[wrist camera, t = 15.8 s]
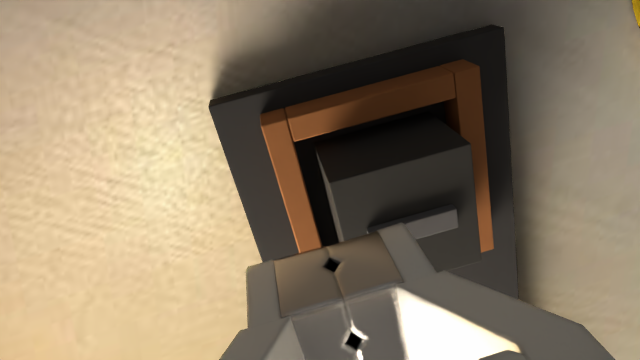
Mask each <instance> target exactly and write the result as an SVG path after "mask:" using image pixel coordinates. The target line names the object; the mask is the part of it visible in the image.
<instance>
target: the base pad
mask: <svg viewBox="0 0 640 360" xmlns="http://www.w3.org/2000/svg"><path fill="white" fill-rule="evenodd" d="M209 110H210V113H211V116H212V119H213V121H214V124H215V127H216V130H217V133H218V136H219V139H220V141H221V144H222V147H223V150H224V153H225V156H226V159H227V161H228V164H229V167H230V170H231V173H232V176H233V179H234V181H235V184H236V187H237V190H238V193H239V196H240V199H241V201H242V204H243V207H244V210H245V213H246V216H247V219H248V221H249V224H250V227H251V230H252V233H253V236H254V239H255V241H256V244H257V247H258V250H259V253H260V256H261V259H262V261H263V262H267V261H270V260H275V259H278V258H281V257H285V256H289V255H293V254H296V253H300V252H304V251H308V250H312V249H315V248H319V247H323V246H329V245H332V244H336V243H338V239H337V235H336V231H335V228H334V224H333V220H332V216H331V212H330V208H329V204H328V200H327V196H326V192H325V188H324V184H323V180H322V176H321V172H320V169H319V165H318V161H317V157H316V153H315V149H314V145H313V143H314V142H318V141H321V140H325V139H329V138H332V137H336V136H340V135H343V134H347V133H351V132H354V131H358V130H362V129H365V128H369V127H373V126H376V125H380V124H384V123H387V122H391V121H395V120H398V119H402V118H406V117H410V116H413V115H417V114H421V113H424V112H428V111H429V112H431V113H432V114H433V115H434V116H436V117H437V118H438V119H440V120H441V121H442V122H444V123H445V124H446V125H447V126H449V127H450V128H451V129H453V130H454V131H455V132H457V133H458V134H459V135H460V136H462V137H463V138H464V139H466V140H467V141H468V142H470V143H471V150H472V161H473V172H474V182H475V193H476V204H477V215H478V226H479V236H480V247H481V258H482V261H480V262H477V263H473V264H470V265H466V266H463V267H459V268H456V269H452V270H449V271H447V272H449V273H452V274H454V275H457V276H459V277H462V278H464V279H467V280H469V281H472V282H475V283H477V284H480V285H482V286H485V287H487V288H490V289H492V290H495V291H497V292H500V293H502V294H505V295H508V296H510V297H513V298H515V299H518V300H519V296H518V277H517V259H516V240H515V222H514V203H513V185H512V166H511V148H510V129H509V111H508V92H507V74H506V55H505V37H504V27H500V26H496V25H489V26H485V27H481V28H477V29H474V30H470V31H466V32H462V33H459V34H455V35H451V36H448V37H444V38H440V39H436V40H433V41H429V42H425V43H421V44H418V45H414V46H410V47H407V48H403V49H399V50H395V51H392V52H388V53H384V54H380V55H377V56H373V57H369V58H365V59H362V60H358V61H354V62H351V63H347V64H343V65H339V66H336V67H332V68H328V69H324V70H321V71H317V72H313V73H310V74H306V75H302V76H298V77H295V78H291V79H287V80H283V81H280V82H276V83H272V84H269V85H265V86H261V87H257V88H254V89H250V90H246V91H242V92H239V93H235V94H231V95H227V96H224V97H220V98H216V99H213V100H210V103H209Z"/></svg>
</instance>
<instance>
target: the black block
mask: <svg viewBox="0 0 640 360" xmlns="http://www.w3.org/2000/svg"><path fill="white" fill-rule="evenodd" d="M313 145H314V149H315V153H316V157H317V161H318V165H319V169H320V172H321V176H322V180H323V184H324V188H325V192H326V196H327V200H328V204H329V208H330V212H331V216H332V220H333V224H334V228H335V231H336V235H337V239H338V243H339V242H342V241H345V240H349V239H352V238H355V237H359V236H362V235H365V234H368V233H372V232H375V231H377V230H380V229H383V228H386V227H389V226H392V225H395V224H398V223H403V224H405V225H406V227H407V228H408V230H409V231H410V233H411V234H412V236H413V237H414V239H415V240H416V242H417V243H418V245H419V246H420V248H421V250H422V251H423V253H424V254H425V256H426V257H427V259H428V260H429V262H430V263H431V265H432V266H433V268H434V270H435V271H436V273H438V272H442V271H449V270H452V269H456V268H459V267H463V266H466V265H470V264H473V263H477V262H480V261H482V258H481V247H480V236H479V226H478V215H477V204H476V193H475V182H474V172H473V161H472V150H471V143H470V142H468V141H467V140H466V139H464V138H463V137H462V136H460V135H459V134H458V133H457V132H455V131H454V130H453V129H451V128H450V127H449V126H447V125H446V124H445V123H444V122H442V121H441V120H440V119H438V118H437V117H436V116H434V115H433V114H432V113H431V112H429V111H428V112H424V113H421V114H417V115H413V116H410V117H406V118H402V119H398V120H395V121H391V122H387V123H384V124H380V125H376V126H373V127H369V128H365V129H362V130H358V131H354V132H351V133H347V134H343V135H340V136H336V137H332V138H329V139H325V140H321V141H318V142H314V143H313Z"/></svg>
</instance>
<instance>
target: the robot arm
mask: <svg viewBox="0 0 640 360" xmlns="http://www.w3.org/2000/svg"><path fill="white" fill-rule="evenodd" d="M246 291H247V321H248V328H247V329H244V330H241V331H239V332H238V334H237V335H236V337H235V338H234V339H233V341H232V342H231V344H230V345H229V347H228V348H227V349H226V351H225V352H224V354H223V355H222V356H221V358H220V359H219V360H615V359H614V358H613V357H612V356H611V355H610V354H609V352H608V351H607V350H606V349H605V348H604V347H603V346H602V345H601V344H600V343H599V342H598V341H597V340H596V339H595V338H594V337H593V336H592V335H591V333H590V332H589V331H588V330H587V329H586V328H585V327H584V326H583V325H581V324H579V323H576V322H574V321H571V320H568V319H566V318H563V317H561V316H558V315H556V314H553V313H551V312H548V311H546V310H543V309H541V308H538V307H535V306H533V305H530V304H528V303H525V302H523V301H520V300H518V299H515V298H513V297H510V296H508V295H505V294H502V293H500V292H497V291H495V290H492V289H490V288H487V287H485V286H482V285H480V284H477V283H475V282H472V281H469V280H467V279H464V278H462V277H459V276H457V275H454V274H452V273H449V272H447V271H442V272H438V273H436V271H435V270H434V268H433V266H432V265H431V263H430V262H429V260H428V259H427V257H426V256H425V254H424V253H423V251H422V250H421V248H420V246H419V245H418V243H417V242H416V240H415V239H414V237H413V236H412V234H411V233H410V231H409V230H408V228H407V227H406V225H405V224H403V223H398V224H395V225H392V226H389V227H386V228H383V229H380V230H377V231H375V232H372V233H368V234H365V235H362V236H359V237H355V238H352V239H349V240H345V241H342V242H339V243H336V244H332V245H329V246H323V247H319V248H315V249H312V250H308V251H304V252H300V253H296V254H293V255H289V256H285V257H281V258H278V259H275V260H270V261H267V262H263V263H260V264H256V265H253V266H249V267H248V268H247V270H246Z"/></svg>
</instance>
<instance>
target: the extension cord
mask: <svg viewBox="0 0 640 360" xmlns="http://www.w3.org/2000/svg"><path fill="white" fill-rule="evenodd" d="M632 4H633V10H634V13H635V16H636V20H637V23H638V26H639V28H640V0H632Z"/></svg>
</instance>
